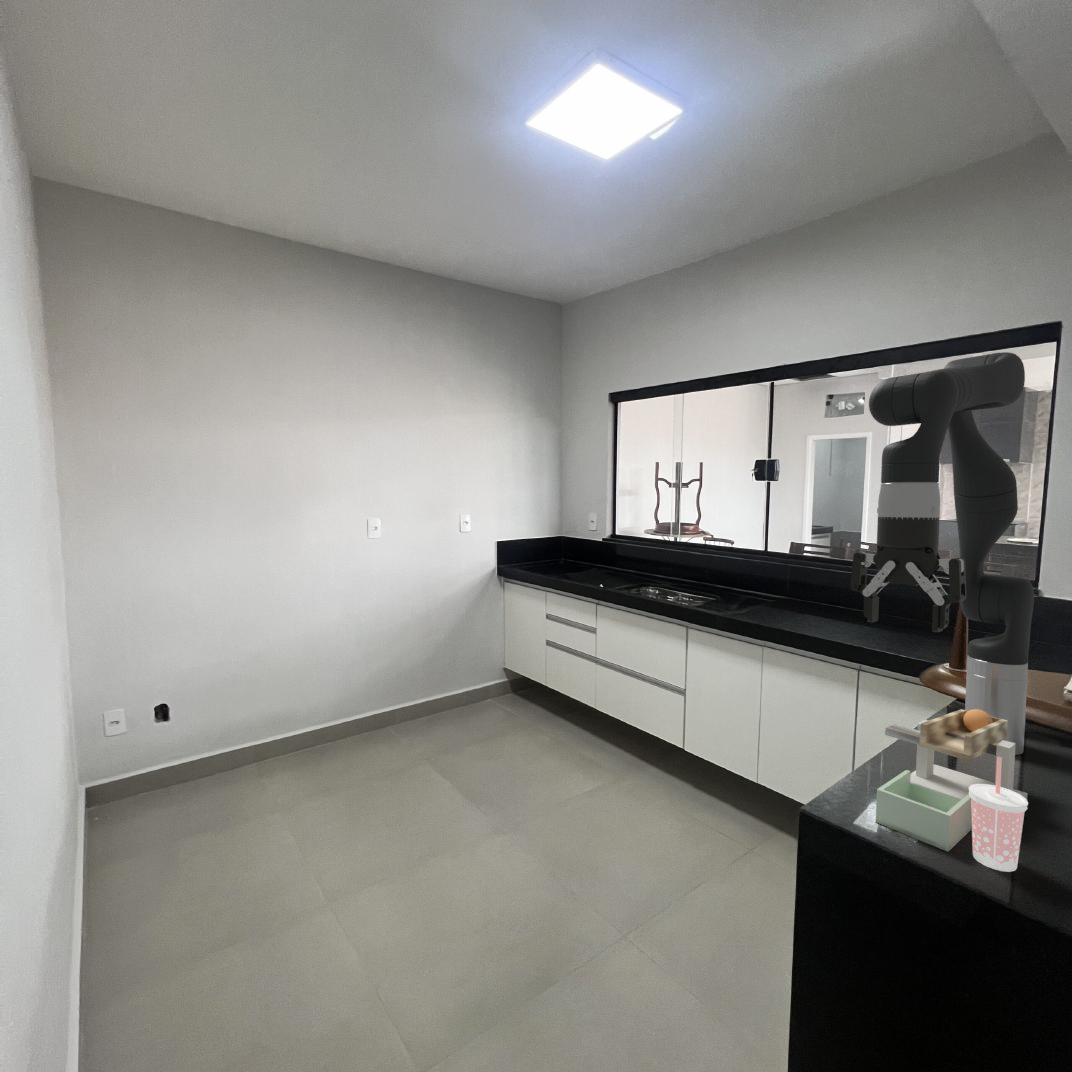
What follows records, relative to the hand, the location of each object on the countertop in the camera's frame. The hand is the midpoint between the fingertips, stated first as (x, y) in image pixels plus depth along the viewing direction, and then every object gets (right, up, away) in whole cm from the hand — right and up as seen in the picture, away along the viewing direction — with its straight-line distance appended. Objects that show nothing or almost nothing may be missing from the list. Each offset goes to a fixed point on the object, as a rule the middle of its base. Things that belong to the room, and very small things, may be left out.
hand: (903, 626), depth 85 cm
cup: (+4, -29, +1) cm, 30 cm away
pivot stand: (+16, -29, +10) cm, 35 cm away
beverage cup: (+7, -30, -8) cm, 32 cm away
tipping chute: (+15, -22, +11) cm, 29 cm away
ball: (+21, -18, +13) cm, 31 cm away
